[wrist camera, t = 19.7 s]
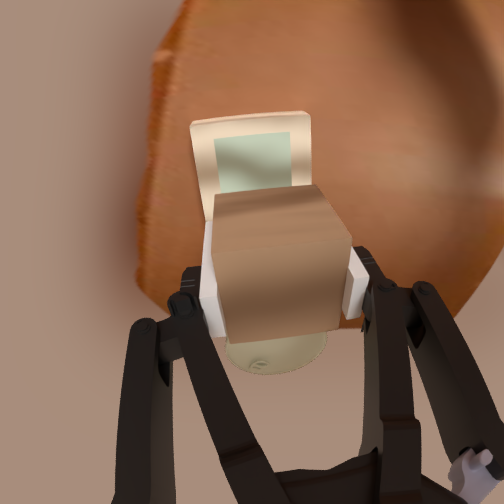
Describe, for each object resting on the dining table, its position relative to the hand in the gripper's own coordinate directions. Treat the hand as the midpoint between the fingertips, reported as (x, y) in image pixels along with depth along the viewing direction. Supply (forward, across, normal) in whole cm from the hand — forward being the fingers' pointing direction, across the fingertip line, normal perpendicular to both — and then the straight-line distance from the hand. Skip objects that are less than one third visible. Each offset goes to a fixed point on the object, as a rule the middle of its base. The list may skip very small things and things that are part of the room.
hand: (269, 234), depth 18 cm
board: (+14, 0, -6) cm, 16 cm away
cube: (0, 0, 0) cm, 0 cm away
